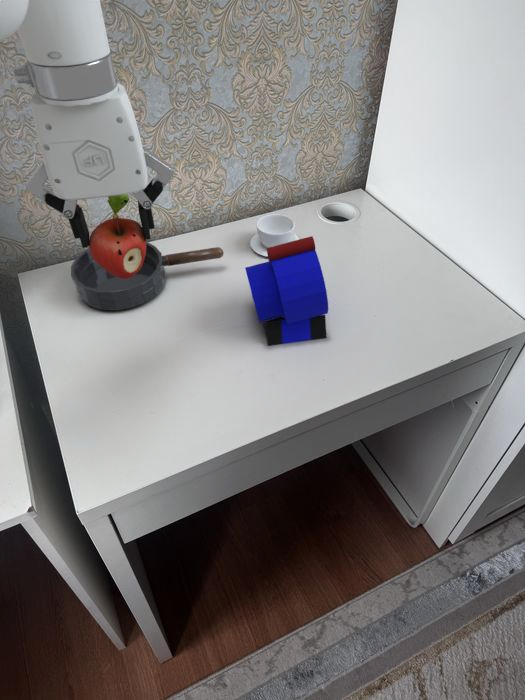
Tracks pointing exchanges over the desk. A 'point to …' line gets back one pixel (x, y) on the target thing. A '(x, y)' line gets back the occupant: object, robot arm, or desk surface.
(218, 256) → the pan handle
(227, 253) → the desk surface
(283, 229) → the teacup
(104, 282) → the pan
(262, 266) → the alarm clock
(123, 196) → the apple
